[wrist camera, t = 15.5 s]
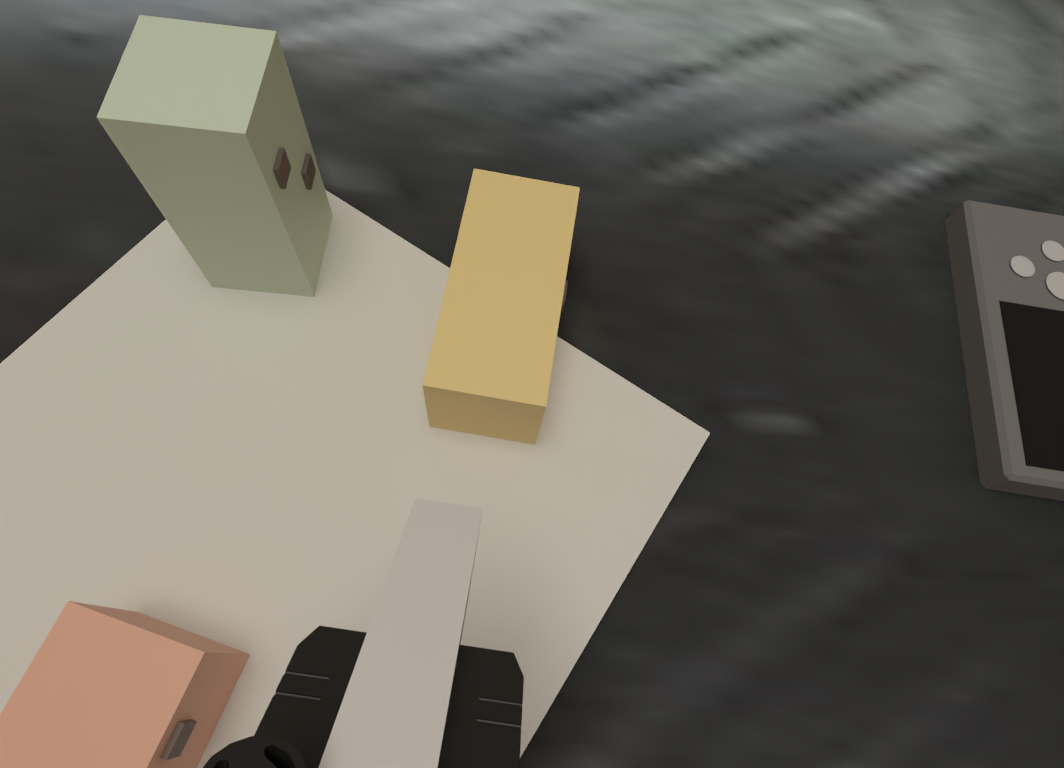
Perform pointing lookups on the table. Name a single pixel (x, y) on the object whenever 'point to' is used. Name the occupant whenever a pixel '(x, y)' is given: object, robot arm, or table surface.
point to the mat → (304, 468)
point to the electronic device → (1012, 342)
